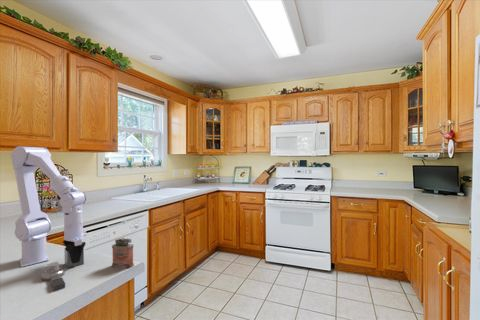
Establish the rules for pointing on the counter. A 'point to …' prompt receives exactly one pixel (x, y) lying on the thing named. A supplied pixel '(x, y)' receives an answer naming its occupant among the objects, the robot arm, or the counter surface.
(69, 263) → the brushed dark grey cube
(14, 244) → the counter surface
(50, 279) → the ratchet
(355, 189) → the counter surface
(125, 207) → the counter surface
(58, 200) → the glass holder
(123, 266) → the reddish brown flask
